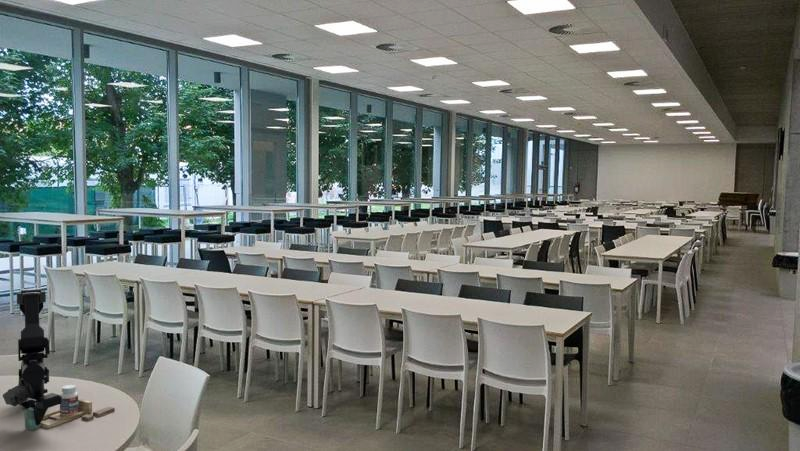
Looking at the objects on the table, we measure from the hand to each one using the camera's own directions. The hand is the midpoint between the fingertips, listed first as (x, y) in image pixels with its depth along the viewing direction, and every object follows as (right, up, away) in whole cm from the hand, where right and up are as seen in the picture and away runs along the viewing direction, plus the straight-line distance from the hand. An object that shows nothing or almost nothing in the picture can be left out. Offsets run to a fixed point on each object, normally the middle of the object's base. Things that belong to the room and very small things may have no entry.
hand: (34, 423), depth 195 cm
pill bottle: (+5, 0, +11) cm, 12 cm away
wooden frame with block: (+3, -1, +7) cm, 8 cm away
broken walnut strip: (+14, -1, +11) cm, 18 cm away
